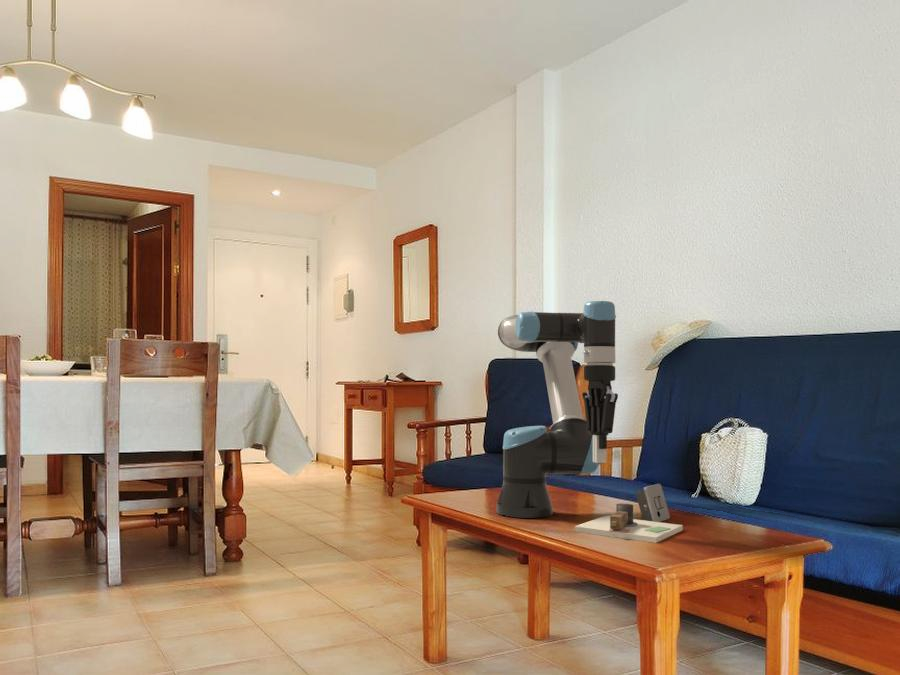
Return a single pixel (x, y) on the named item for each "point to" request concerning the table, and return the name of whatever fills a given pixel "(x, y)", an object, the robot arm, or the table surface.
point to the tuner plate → (631, 529)
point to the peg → (622, 516)
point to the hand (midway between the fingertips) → (599, 462)
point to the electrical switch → (653, 503)
